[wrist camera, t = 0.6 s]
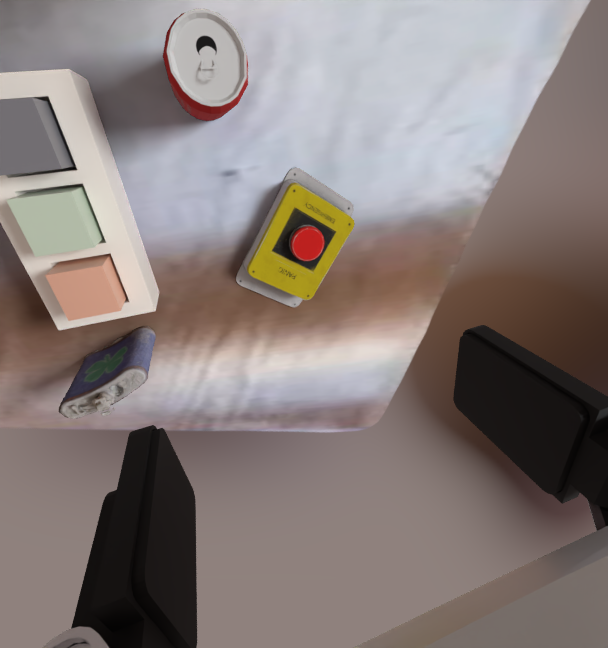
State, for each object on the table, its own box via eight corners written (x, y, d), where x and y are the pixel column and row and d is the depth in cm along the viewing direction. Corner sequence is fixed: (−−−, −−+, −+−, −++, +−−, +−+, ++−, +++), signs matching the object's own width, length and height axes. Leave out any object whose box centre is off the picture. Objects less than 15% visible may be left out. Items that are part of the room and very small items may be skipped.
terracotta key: (60, 260, 31) (45, 275, 28) (111, 252, 32) (102, 265, 29) (81, 302, 33) (68, 321, 30) (127, 294, 34) (120, 310, 31)
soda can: (237, 119, 33) (258, 109, 23) (179, 122, 32) (174, 114, 22) (227, 47, 30) (246, 0, 20) (164, 48, 29) (149, -2, 19)
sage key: (28, 192, 28) (6, 199, 25) (85, 185, 29) (71, 191, 26) (52, 243, 30) (35, 256, 27) (105, 236, 31) (94, 247, 28)
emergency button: (370, 211, 37) (304, 322, 41) (354, 205, 41) (295, 307, 45) (302, 165, 33) (236, 294, 37) (291, 163, 37) (232, 280, 41)
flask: (147, 321, 40) (134, 375, 31) (162, 339, 41) (154, 395, 32) (77, 358, 39) (43, 423, 30) (95, 375, 41) (68, 441, 32)
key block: (-36, 87, 27) (-79, 77, 22) (87, 79, 28) (69, 68, 24) (74, 308, 37) (58, 330, 32) (159, 292, 38) (155, 311, 34)
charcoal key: (-13, 108, 25) (-44, 102, 22) (52, 103, 26) (32, 97, 22) (18, 171, 27) (-6, 176, 24) (77, 165, 28) (61, 168, 25)
